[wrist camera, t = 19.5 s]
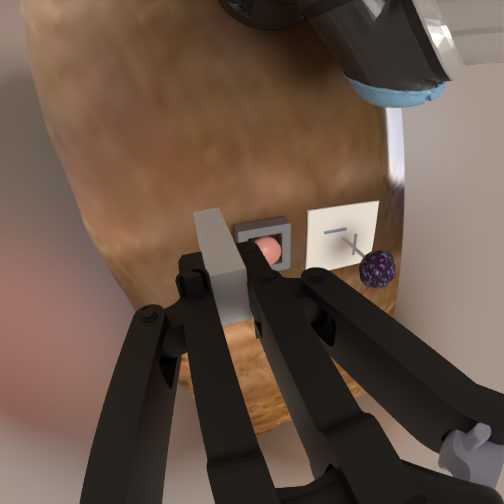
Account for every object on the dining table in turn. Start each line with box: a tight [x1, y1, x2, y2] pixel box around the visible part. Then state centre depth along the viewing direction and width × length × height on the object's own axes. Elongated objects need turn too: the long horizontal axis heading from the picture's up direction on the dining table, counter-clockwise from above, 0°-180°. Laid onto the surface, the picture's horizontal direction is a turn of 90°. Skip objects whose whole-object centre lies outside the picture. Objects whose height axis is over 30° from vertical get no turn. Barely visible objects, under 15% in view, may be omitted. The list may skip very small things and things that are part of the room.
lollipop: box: [342, 237, 395, 288], centre depth 51 cm, size 7×7×15 cm
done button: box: [251, 235, 281, 265], centre depth 51 cm, size 5×5×3 cm
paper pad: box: [305, 200, 379, 270], centre depth 57 cm, size 14×16×1 cm
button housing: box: [234, 216, 291, 271], centre depth 52 cm, size 9×9×3 cm
